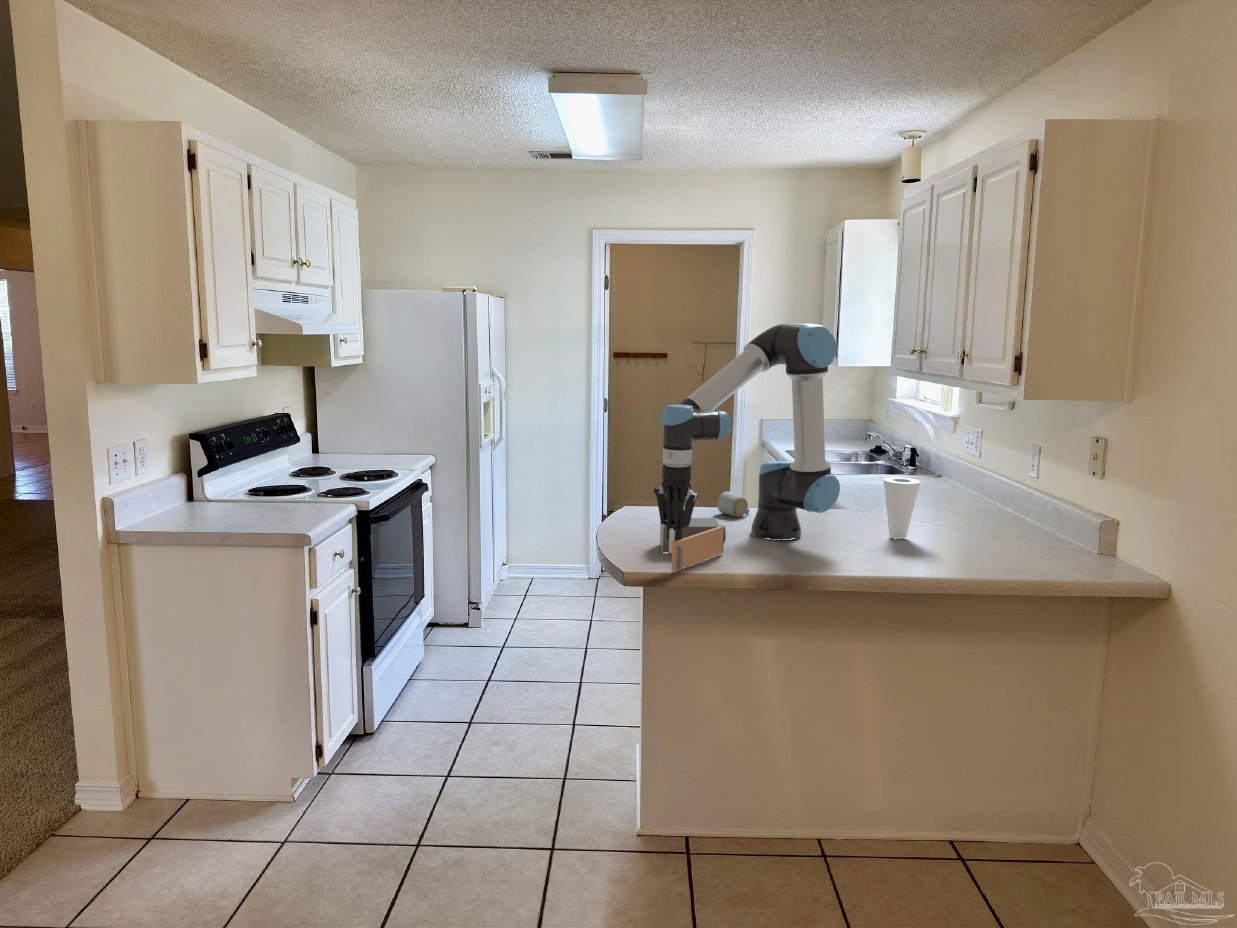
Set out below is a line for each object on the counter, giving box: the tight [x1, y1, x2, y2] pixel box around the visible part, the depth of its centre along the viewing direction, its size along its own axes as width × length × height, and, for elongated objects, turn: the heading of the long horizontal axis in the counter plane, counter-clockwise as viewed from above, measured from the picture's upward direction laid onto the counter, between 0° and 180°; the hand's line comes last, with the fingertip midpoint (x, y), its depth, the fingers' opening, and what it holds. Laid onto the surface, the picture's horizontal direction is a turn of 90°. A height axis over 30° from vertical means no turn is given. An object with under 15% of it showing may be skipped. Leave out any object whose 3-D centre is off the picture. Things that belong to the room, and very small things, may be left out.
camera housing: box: [659, 517, 727, 553], centre depth 240 cm, size 18×10×9 cm, turn 92°
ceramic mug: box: [716, 491, 751, 518], centre depth 283 cm, size 11×8×8 cm
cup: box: [883, 476, 921, 539], centre depth 255 cm, size 11×11×18 cm
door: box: [671, 525, 725, 573], centre depth 225 cm, size 24×2×8 cm, turn 140°
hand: (673, 552), depth 221 cm, fingers closed
